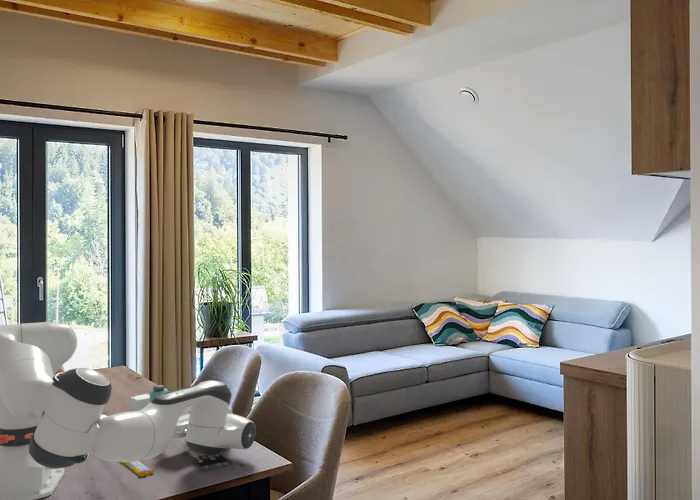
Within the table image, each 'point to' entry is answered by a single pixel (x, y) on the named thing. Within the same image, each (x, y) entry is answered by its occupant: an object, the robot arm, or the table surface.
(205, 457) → the smartphone
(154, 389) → the bottle
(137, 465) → the candy bar
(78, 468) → the table surface
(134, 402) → the skincare box
